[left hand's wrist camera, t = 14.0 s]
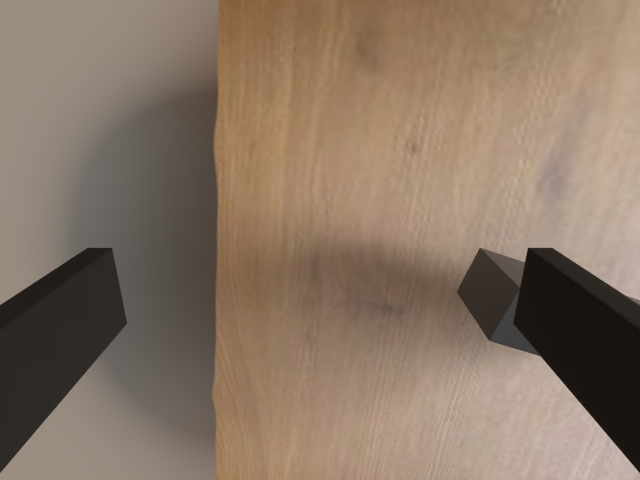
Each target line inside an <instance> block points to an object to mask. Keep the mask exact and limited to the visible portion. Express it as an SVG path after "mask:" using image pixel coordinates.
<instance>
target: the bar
mask: <svg viewBox="0 0 640 480" xmlns="http://www.w3.org/2000/svg"><path fill="white" fill-rule="evenodd" d="M524 266H525V262H522V261H518V260H515V259H512V258H509V257H506V256H503V255H500V254H497V253H494V252H491V251H488V250H485V249H482V248H480V249H479V251H478V253H477V254H476V256H475V258H474V260H473V262H472V264H471V266H470V268H469V270H468V272H467V274H466V275H465V277H464V279H463V281H462V283H461V285H460V287H459V289H458V291H457V293H458V295H459V296H460V298H461V299H462V301H463V302H464V304H465V305H466V307H467V308H468V310H469V311H470V313H471V314H472V316H473V317H474V319H475V320H476V322H477V323H478V325H479V326H480V328H481V329H482V331H483V332H484V334H485V335H486V337H487V338H488V340H489V341H492V342H495V343H499V344H502V345H505V346H509V347H512V348H515V349H519V350H522V351H525V352H529V353H532V354H535V355H539V354H538V352H537V351H536V350H535V349H534V348H533V346H532V345H531V344H530V343H529V342H528V341H527V339H526V338H525V337H524V336H523V335H522V333H521V332H520V331H519V330H518V329H517V328H516V326H515V325H514V324H513V321H514V316H515V311H516V306H517V301H518V296H519V291H520V286H521V281H522V276H523V271H524ZM627 297H628V296H627ZM628 298H630V299H631V300H633V301H634V302H636V303H637V304H639V305H640V300H637V299H634V298H631V297H628ZM539 356H540V355H539Z"/></svg>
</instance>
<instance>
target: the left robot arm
mask: <svg viewBox="0 0 640 480" xmlns="http://www.w3.org/2000/svg"><path fill="white" fill-rule="evenodd" d="M126 324H127V321H126V316H125V311H124V306H123V301H122V296H121V291H120V286H119V281H118V276H117V271H116V266H115V261H114V256H113V251H112V248H87V249H85V250H84V251H82V252H81V253H79V254H78V255H76V256H75V257H73V258H72V259H70V260H69V261H67V262H66V263H64V264H62V265H61V266H59V267H58V268H56V269H55V270H53V271H52V272H50V273H49V274H47V275H46V276H44V277H43V278H41V279H40V280H38V281H37V282H35V283H33V284H32V285H30V286H29V287H27V288H26V289H24V290H23V291H21V292H20V293H18V294H17V295H15V296H14V297H12V298H10V299H9V300H7V301H6V302H4V303H3V304H1V305H0V472H1V471H2V470H3V469H4V468H5V467H6V465H7V464H8V463H9V462H10V461H11V460H12V458H13V457H14V456H15V455H16V454H17V452H18V451H19V450H20V449H21V448H22V447H23V445H24V444H25V443H26V442H27V441H28V439H29V438H30V437H31V436H32V435H33V434H34V432H35V431H36V430H37V429H38V428H39V427H40V425H41V424H42V423H43V422H44V421H45V419H46V418H47V417H48V416H49V415H50V414H51V412H52V411H53V410H54V409H55V408H56V407H57V405H58V404H59V403H60V402H61V401H62V399H63V398H64V397H65V396H66V395H67V394H68V392H69V391H70V390H71V389H72V388H73V386H74V385H75V384H76V383H77V382H78V381H79V379H80V378H81V377H82V376H83V375H84V374H85V372H86V371H87V370H88V369H89V368H90V366H91V365H92V364H93V363H94V362H95V361H96V359H97V358H98V357H99V356H100V355H101V354H102V352H103V351H104V350H105V349H106V347H107V346H108V345H109V344H110V343H111V342H112V341H113V339H114V338H115V337H116V336H117V335H118V333H119V332H120V331H121V330H122V329H123V328H124V326H125V325H126ZM513 324H514V325H515V326H516V328H517V329H518V330H519V331H520V332H521V333H522V335H523V336H524V337H525V338H526V339H527V341H528V342H529V343H530V344H531V345H532V346H533V348H534V349H535V350H536V351H537V352H538V354H539V355H540V356H541V357H542V358H543V359H544V361H545V362H546V363H547V364H548V365H549V366H550V368H551V369H552V370H553V371H554V372H555V374H556V375H557V376H558V377H559V378H560V379H561V381H562V382H563V383H564V384H565V385H566V386H567V388H568V389H569V390H570V391H571V392H572V394H573V395H574V396H575V397H576V398H577V399H578V401H579V402H580V403H581V404H582V405H583V407H584V408H585V409H586V410H587V411H588V412H589V414H590V415H591V416H592V417H593V418H594V419H595V421H596V422H597V423H598V424H599V425H600V427H601V428H602V429H603V430H604V431H605V432H606V434H607V435H608V436H609V437H610V438H611V440H612V441H613V442H614V443H615V444H616V445H617V447H618V448H619V449H620V450H621V451H622V452H623V454H624V455H625V456H626V457H627V458H628V460H629V461H630V462H631V463H632V464H633V465H634V467H635V468H636V469H637V470H638V471H639V472H640V305H639V304H637V303H636V302H634V301H633V300H631V299H630V298H628V297H627V296H625V295H623V294H622V293H620V292H619V291H617V290H616V289H614V288H613V287H611V286H610V285H608V284H607V283H605V282H604V281H602V280H600V279H599V278H597V277H596V276H594V275H593V274H591V273H590V272H588V271H587V270H585V269H584V268H582V267H581V266H579V265H578V264H576V263H574V262H573V261H571V260H570V259H568V258H567V257H565V256H564V255H562V254H561V253H559V252H558V251H556V250H555V249H553V248H528V251H527V256H526V261H525V266H524V271H523V276H522V281H521V286H520V291H519V296H518V301H517V306H516V311H515V316H514V321H513Z"/></svg>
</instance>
